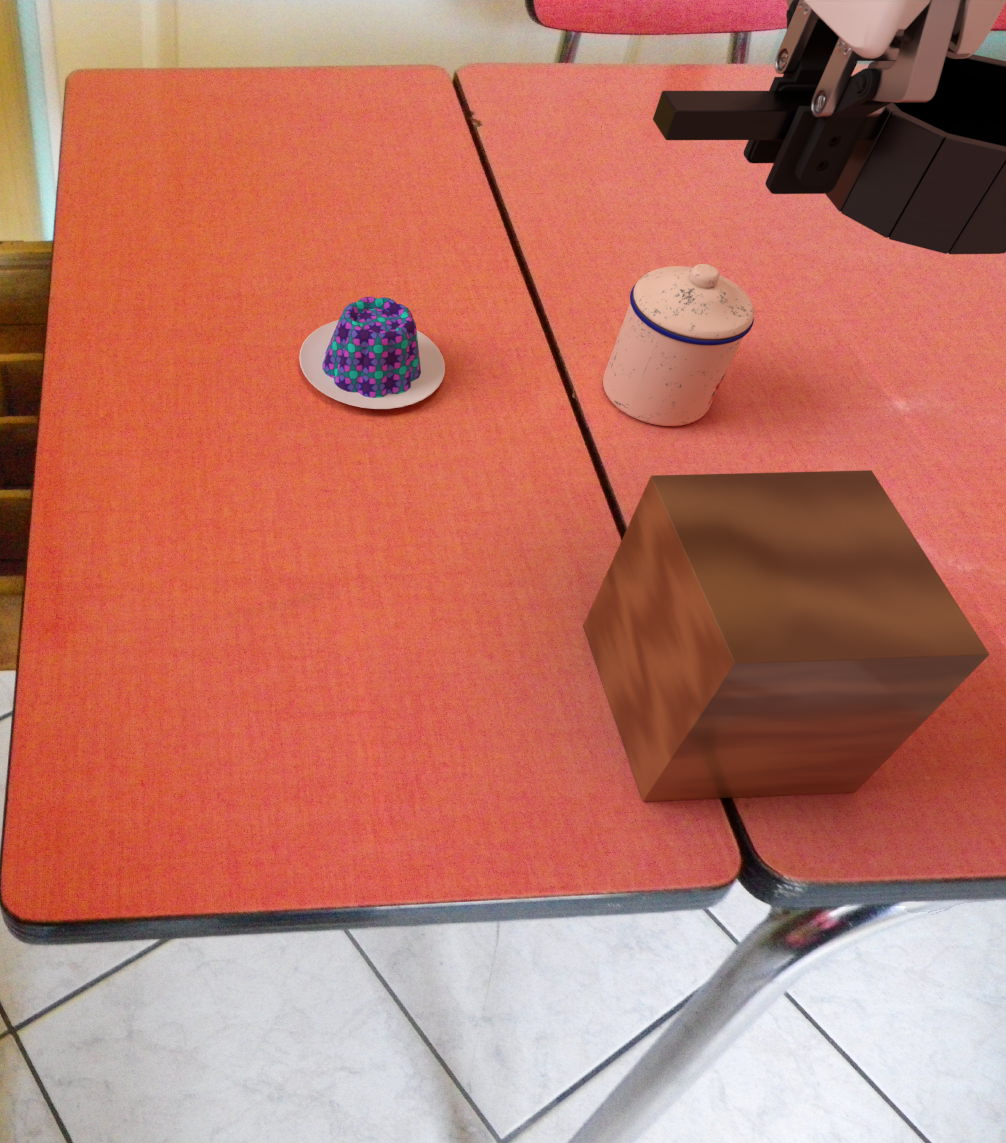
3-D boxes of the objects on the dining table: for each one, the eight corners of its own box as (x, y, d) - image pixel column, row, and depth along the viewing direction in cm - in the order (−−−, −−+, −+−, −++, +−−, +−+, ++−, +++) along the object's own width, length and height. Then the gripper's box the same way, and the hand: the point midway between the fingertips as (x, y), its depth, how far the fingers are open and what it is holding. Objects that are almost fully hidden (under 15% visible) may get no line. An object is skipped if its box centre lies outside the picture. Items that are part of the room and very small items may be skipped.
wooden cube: (855, 792, 62) (990, 654, 52) (642, 801, 61) (734, 663, 51) (770, 619, 71) (871, 469, 60) (582, 625, 70) (650, 475, 59)
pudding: (407, 314, 92) (417, 261, 88) (468, 400, 84) (481, 347, 80) (278, 337, 89) (282, 284, 85) (329, 428, 82) (335, 375, 78)
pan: (969, 146, 56) (1025, 50, 52) (1076, 253, 49) (1150, 152, 45) (605, 147, 54) (636, 48, 51) (667, 257, 48) (708, 154, 44)
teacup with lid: (729, 428, 83) (792, 305, 74) (618, 432, 82) (668, 308, 73) (676, 335, 91) (727, 213, 82) (574, 338, 90) (615, 216, 81)
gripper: (1266, -254, 32) (939, 270, 46) (992, -357, 42) (794, 97, 56) (1032, -259, 31) (774, 272, 45) (812, -362, 41) (657, 97, 56)
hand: (786, 172), depth 51 cm, fingers closed on pan
